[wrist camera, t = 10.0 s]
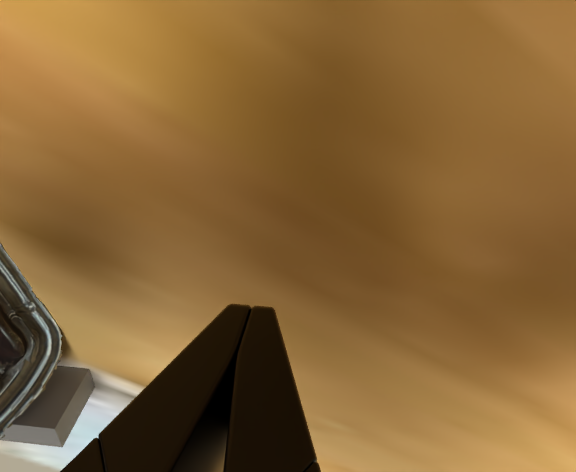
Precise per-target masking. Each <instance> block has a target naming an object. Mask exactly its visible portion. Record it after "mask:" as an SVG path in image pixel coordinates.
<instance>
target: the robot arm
mask: <svg viewBox="0 0 576 472" xmlns="http://www.w3.org/2000/svg"><path fill="white" fill-rule="evenodd" d="M60 472H321V470H320V467H319V464H318V463H317V457H316V454H315V450H314V447H313V443H312V440H311V436H310V432H309V429H308V425H307V422H306V418H305V415H304V411H303V408H302V404H301V401H300V397H299V394H298V390H297V387H296V383H295V380H294V376H293V373H292V369H291V366H290V362H289V358H288V355H287V351H286V348H285V344H284V341H283V337H282V334H281V330H280V327H279V323H278V320H277V316H276V313H275V310H274V308H272V307H264V306H254V307H252V308H251V307H250V306H249V305H240V304H230V305H228V306H227V307H226V308H225V309H224V310H223V311H222V312H221V313H220V314H219V315H218V316H217V317H216V318H215V319H214V320H213V321H212V322H211V323H210V324H209V325H208V326H207V327H206V328H205V329H204V330H203V331H202V332H201V333H200V334H199V335H198V336H197V337H196V338H195V339H194V340H193V341H192V342H191V343H190V344H189V345H188V346H187V347H186V348H185V349H184V350H183V351H182V352H181V353H180V354H179V355H178V356H177V357H176V358H175V359H174V360H173V361H172V362H171V363H170V364H169V365H168V366H167V367H166V368H165V369H164V370H163V371H162V372H161V373H160V374H159V375H158V376H157V377H156V378H155V379H154V380H153V381H152V382H151V383H150V384H149V385H148V386H147V387H146V388H145V389H144V390H143V391H142V392H141V393H140V394H139V395H138V396H137V397H136V398H135V399H134V400H133V401H132V402H131V403H130V404H129V405H128V406H127V407H126V408H125V409H124V410H123V411H122V412H121V413H120V414H119V415H118V416H117V417H116V418H115V419H114V420H113V421H112V422H111V423H110V424H109V425H108V426H107V427H106V428H105V429H104V430H103V431H102V432H101V433H100V434H99V439H98V438H94V439H93V440H92V441H91V442H90V443H89V444H88V445H87V446H86V447H85V448H84V449H83V450H82V451H81V452H80V453H79V454H78V455H77V456H76V457H75V458H74V459H73V460H72V461H71V462H70V463H69V464H68V465H67V466H66V467H65V468H64V469H63V470H61V471H60Z"/></svg>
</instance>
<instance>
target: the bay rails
mask: <svg viewBox="0 0 576 472" xmlns="http://www.w3.org/2000/svg"><path fill="white" fill-rule="evenodd" d="M45 388H46V389H45V390H44V391H43V392H42V393H41V394H40V395H39V396H38V397H37V398H36V399H35V400H34V401H33V402H32V403H31V404H30V405H29V407H28V408H27V409H26V410H25V411H24V413H23V414H22V415H19V416H18V417H17V418H16V419H15V420H13V421H12V424H13V425H12V426H11V427H9V428H5V431H4V432H3V433H4V434H5V437H3V438H2V439H0V440H4V441H13V442H22V443H30V444H39V445H48V446H57V447H63V445H64V443H65V441H66V440H67V438H68V436H69V434H70V432H71V430H72V428H73V427H74V425H75V423H76V421H77V419H78V417H79V415H80V414H81V412H82V410H83V408H84V406H85V404H86V402H87V401H88V399H89V397H90V395H91V393H92V391H93V389H94V388H95V386H94V383H93V380H92V377H91V373H90V370H89V369H85V368H74V367H64V366H57V368H56V369H54V370H53V374H52V376H51V377H50V379H49V380H48V382H47V383H46V385H45Z"/></svg>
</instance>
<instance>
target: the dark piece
mask: <svg viewBox="0 0 576 472" xmlns="http://www.w3.org/2000/svg"><path fill="white" fill-rule="evenodd" d="M35 297H36V296H35V294H34V293H33V292H32V287H31V286H30V285H29V283H28V282H27V281H26V279H25V278H24V277H23V275H22V274H21V272H20V270H19V269H18V267H17V266H16V264H15V263H14V262H13V261H12V259H11V258H10V257H9V255H8V254H7V253H6V251H5V250H4V248H3V246H2V244H0V439H2V438H3V437H5V434H4V433H3V432H4V431H5V428H9V427H11V426H12V425H13V424H12V421H13V420H15V419H16V418H17V417H18V416H19V415H22V414H23V413H24V411H25V410H26V409H27V408H28V407H29V405H30V404H31V403H32V402H33V401H34V400H35V399H36V398H37V397H38V396H39V395H40V394H41V393H42V392H43V391H44V390H45V389H46V388H45V385H46V383H47V382H48V380H49V379H50V377H51V376H52V374H53V370H54V369H56V368H57V364H58V363H59V362H60V357H62V354H61V352H62V351H63V350H61V344H62V341H61V340H60V339H61V337H62V335H61V331H60V328H59V327H58V326H57V324H56V322H55V320H53V318H52V316H51V314H50V313H49V311H48V310H47V309H46V307H45V305H44V304H43V303H42V302H40V301H39V300H38V298H35Z"/></svg>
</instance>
